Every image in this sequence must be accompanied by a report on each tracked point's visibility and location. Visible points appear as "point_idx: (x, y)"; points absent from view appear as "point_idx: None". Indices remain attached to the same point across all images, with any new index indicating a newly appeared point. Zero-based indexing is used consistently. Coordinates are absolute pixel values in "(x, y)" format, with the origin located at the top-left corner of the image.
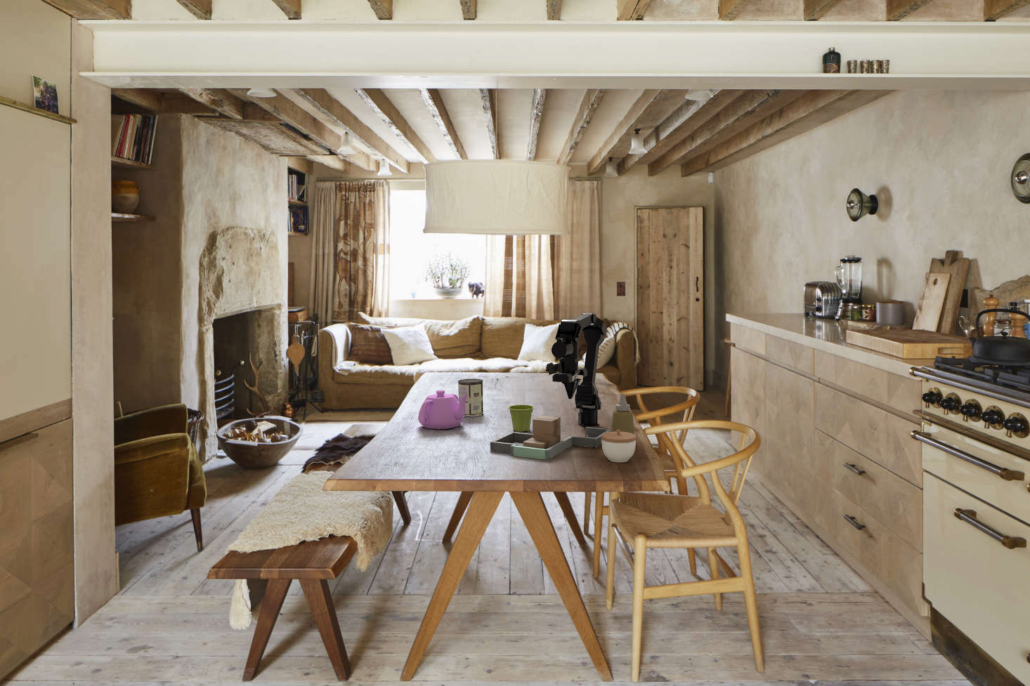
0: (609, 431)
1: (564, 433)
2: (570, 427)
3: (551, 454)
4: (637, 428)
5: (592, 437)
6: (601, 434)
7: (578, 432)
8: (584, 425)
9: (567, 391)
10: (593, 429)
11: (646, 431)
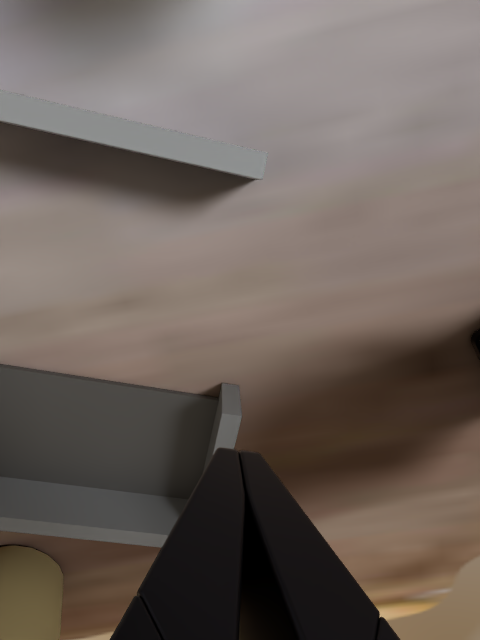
0: (162, 544)
1: (259, 241)
2: (454, 246)
3: None
4: (440, 575)
5: (166, 431)
6: (50, 526)
7: (306, 326)
8: (475, 339)
9: (149, 588)
10: (212, 455)
11: (378, 610)
